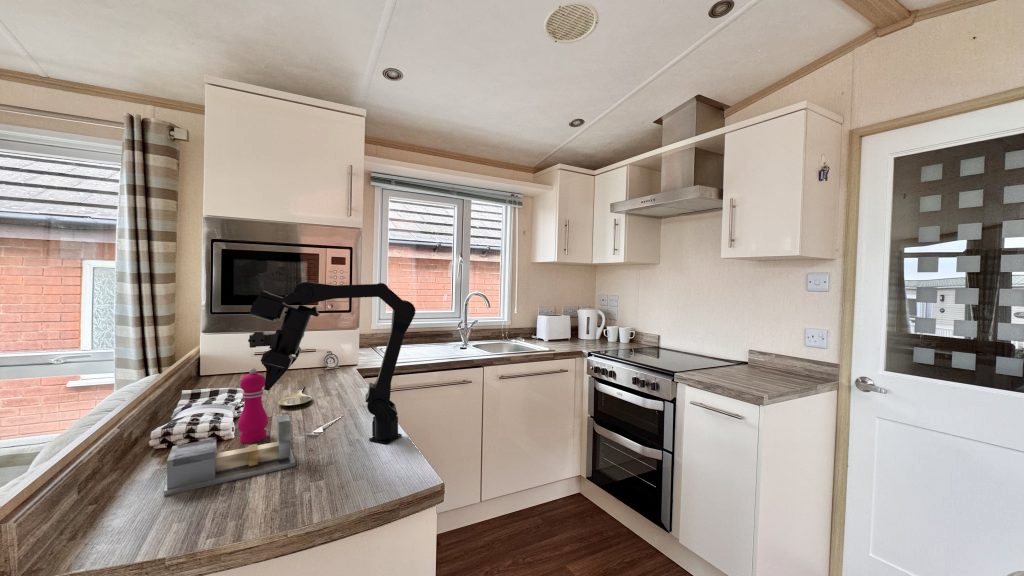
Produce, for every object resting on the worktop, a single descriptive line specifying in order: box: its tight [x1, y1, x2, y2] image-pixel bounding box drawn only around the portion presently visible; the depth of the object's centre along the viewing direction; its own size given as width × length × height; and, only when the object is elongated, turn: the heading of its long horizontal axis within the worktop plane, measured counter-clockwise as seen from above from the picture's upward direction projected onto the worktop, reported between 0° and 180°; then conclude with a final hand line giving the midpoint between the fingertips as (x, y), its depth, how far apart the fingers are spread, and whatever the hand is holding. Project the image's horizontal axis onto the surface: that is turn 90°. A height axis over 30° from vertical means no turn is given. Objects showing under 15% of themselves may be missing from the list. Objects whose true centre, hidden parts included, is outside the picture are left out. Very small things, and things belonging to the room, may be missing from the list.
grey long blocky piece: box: [163, 438, 297, 497], centre depth 94 cm, size 24×10×7 cm, turn 124°
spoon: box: [277, 389, 312, 407], centre depth 155 cm, size 35×11×2 cm, turn 23°
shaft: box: [215, 414, 291, 471], centre depth 96 cm, size 15×5×9 cm, turn 124°
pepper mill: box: [237, 367, 269, 444], centre depth 113 cm, size 7×7×20 cm
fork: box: [303, 416, 342, 436], centre depth 124 cm, size 3×20×2 cm, turn 174°
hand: (270, 385), depth 104 cm, fingers open, 9 cm apart
